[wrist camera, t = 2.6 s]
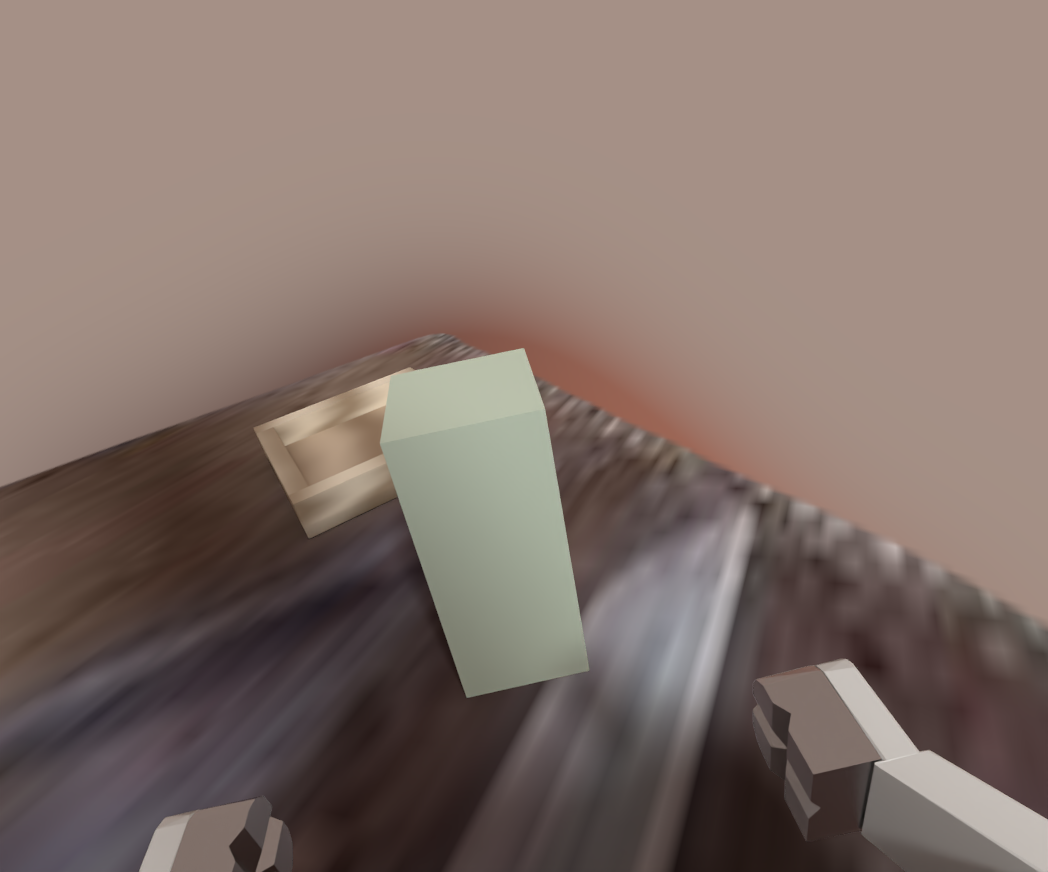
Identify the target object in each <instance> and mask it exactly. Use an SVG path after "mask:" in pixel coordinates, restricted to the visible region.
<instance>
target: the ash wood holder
mask: <svg viewBox="0 0 1048 872" xmlns="http://www.w3.org/2000/svg"><path fill="white" fill-rule="evenodd" d="M411 371H415V370H414V369H412V368H411V367H410V368H407V369H404V370H402V371H399V372H397V373H394V374H392V375H397V374H402V373H406V372H411ZM392 375H389V376H386V377H384V378H381V379H379V380H376V381H373V382H371V383H368V384H366V385H363V386H360V387H358V388H355V389H353V390H350V391H347V392H345V393H342V394H340V395H337V396H334V397H332V398H329V399H327V400H324V401H321V402H319V403H316V404H314V405H311V406H309V407H306V408H303V409H301V410H298V411H296V412H293V413H290V414H288V415H285V416H283V417H280V418H277V419H275V420H272V421H270V422H267V423H264V424H262V425H259V426H257V427H254V431H255V433H256V435H257V437H258V439H259V441H260V444H261V446H262V448H263V450H264V452H265V455H266V457H267V459H268V461H269V463H270V464H271V466H272V468H273V470H274V472H275V474H276V476H277V478H278V480H279V482H280V484H281V486H282V488H283V490H284V492H285V494H286V496H287V497H288V499H289V501H290V503H291V505H292V507H293V509H294V511H295V513H296V515H297V517H298V519H299V521H300V523H301V525H302V527H303V529H304V530H305V532H306V534H307V536H308V538H309V539H310V538H312V537H314V536H316V535H318V534H320V533H322V532H324V531H327V530H329V529H331V528H333V527H335V526H337V525H339V524H341V523H343V522H346V521H348V520H350V519H352V518H354V517H356V516H358V515H360V514H362V513H365V512H367V511H369V510H371V509H373V508H375V507H377V506H379V505H381V504H384V503H386V502H388V501H390V500H392V499H394V498H396V497H398V495H397V492H396V490H395V487H394V484H393V481H392V478H391V475H390V472H389V469H388V466H387V463H386V460H385V457H384V454H383V451H382V449H381V446H380V439H381V433H382V427H383V421H384V415H385V409H386V402H387V396H388V390H389V384H390V378H391V376H392Z"/></svg>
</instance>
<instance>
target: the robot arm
mask: <svg viewBox="0 0 1048 872" xmlns="http://www.w3.org/2000/svg"><path fill="white" fill-rule="evenodd" d="M753 695H754V697H755V699H756V701H757V703H758V705H757V706H756V707H755V708H754V710H753V726H754V730H755V734H756V738H757V741H758V744H759V746H760V749H761V751H762V754H763V756H764V758H765V760H766V762H767V764H768V766H769V769H770V770H771V771H772V772H774V773H775V774H776V775H778V776H779V777H781V778H782V779H784V780H785V794H784V799H785V801H786V803H787V804H788V806H789V808H790V810H791V812H792V814H793V816H794V818H795V820H796V822H797V824H798V826H799V828H800V830H801V832H802V834H803V836H804V838H805V840H806V842H810V841H815V840H820V839H824V838H829V837H834V836H839V835H844V834H848V833H853V832H858V831H862V832H861V834H862V835H863V836H864V837H865V838H866V839H868V840H869V841H870V842H871V843H872V844H874V845H875V846H876V847H877V848H878V849H880V850H881V851H882V852H883V853H884V854H886V855H887V856H888V857H889V858H890V859H891V860H893V861H894V862H895V863H896V864H897V865H899V866H900V867H901V868H902V869H903V870H905V871H906V872H1048V820H1047V819H1046V818H1044V817H1042V816H1041V815H1039V814H1037V813H1035V812H1034V811H1032V810H1030V809H1029V808H1027V807H1025V806H1024V805H1022V804H1020V803H1018V802H1017V801H1015V800H1013V799H1012V798H1010V797H1008V796H1007V795H1005V794H1003V793H1001V792H1000V791H998V790H996V789H995V788H993V787H991V786H990V785H988V784H986V783H984V782H983V781H981V780H979V779H978V778H976V777H974V776H973V775H971V774H969V773H967V772H966V771H964V770H962V769H961V768H959V767H957V766H956V765H954V764H952V763H950V762H949V761H947V760H945V759H944V758H942V757H940V756H939V755H937V754H935V753H933V752H932V751H930V750H925V751H918V749H917V748H916V747H915V745H914V744H913V743H912V741H911V740H910V739H909V737H908V736H907V735H906V733H905V732H904V731H903V729H902V728H901V727H900V725H899V724H898V723H897V721H896V720H895V719H894V717H893V716H892V715H891V713H890V712H889V711H888V709H887V708H886V707H885V705H884V704H883V703H882V702H881V700H880V699H879V698H878V696H877V695H876V694H875V692H874V691H873V690H872V688H871V687H870V686H869V684H868V683H867V682H866V680H865V679H864V678H863V676H862V675H861V674H860V672H859V671H858V670H857V668H856V667H855V666H854V664H853V663H851V662H850V661H848V660H847V659H838V660H834V661H830V662H826V663H822V664H818V665H814V666H813V665H810V666H806V667H802V668H798V669H794V670H791V671H787V672H783V673H779V674H775V675H771V676H767V677H763V678H759V679H756V680H755V681H754V683H753ZM271 810H272V805H271V804H270V803H269V802H268V801H267V799H266V798H265V797H264V796H259V797H255V798H250V799H246V800H242V801H237V802H233V803H228V804H224V805H220V806H215V807H211V808H207V809H202V810H195V811H191V812H187V813H183V814H179V815H175V816H170V817H166V818H164V820H163V821H162V822H161V824H160V825H159V826H158V828H157V829H156V830H155V832H154V834H153V837H152V840H151V842H150V845H149V847H148V850H147V852H146V855H145V857H144V860H143V862H142V865H141V867H140V870H139V872H292V866H293V842H292V839H291V836H290V832H289V829H288V828H287V826H286V825H285V823H284V822H283V821H281V820H278V819H275V818H273V817H270V814H271Z"/></svg>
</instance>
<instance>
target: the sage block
mask: <svg viewBox="0 0 1048 872" xmlns="http://www.w3.org/2000/svg"><path fill="white" fill-rule="evenodd" d="M380 446H381V449H382V451H383V454H384V457H385V460H386V463H387V466H388V469H389V472H390V475H391V478H392V481H393V484H394V487H395V490H396V492H397V495H398V498H399V501H400V504H401V507H402V510H403V513H404V516H405V519H406V522H407V525H408V528H409V531H410V533H411V536H412V539H413V542H414V545H415V548H416V551H417V554H418V557H419V560H420V563H421V566H422V569H423V572H424V574H425V577H426V580H427V583H428V586H429V589H430V592H431V595H432V598H433V601H434V604H435V607H436V610H437V613H438V615H439V618H440V621H441V624H442V627H443V630H444V633H445V636H446V639H447V642H448V645H449V648H450V651H451V654H452V656H453V659H454V662H455V665H456V668H457V671H458V674H459V677H460V680H461V683H462V686H463V689H464V692H465V695H466V698H469V697H473V696H478V695H482V694H487V693H491V692H496V691H500V690H505V689H509V688H514V687H518V686H523V685H527V684H532V683H536V682H541V681H545V680H550V679H554V678H559V677H563V676H568V675H572V674H577V673H581V672H586V671H590V670H589V664H588V659H587V653H586V647H585V641H584V635H583V629H582V623H581V618H580V612H579V606H578V600H577V594H576V588H575V582H574V576H573V571H572V565H571V559H570V553H569V547H568V541H567V535H566V529H565V524H564V518H563V512H562V506H561V500H560V494H559V488H558V483H557V477H556V471H555V465H554V459H553V453H552V447H551V441H550V436H549V430H548V424H547V418H546V412H545V408H544V405H543V402H542V399H541V396H540V393H539V390H538V387H537V385H536V382H535V379H534V376H533V373H532V370H531V367H530V365H529V362H528V359H527V356H526V353H525V350H524V348H522V349H517V350H512V351H507V352H503V353H498V354H493V355H488V356H483V357H479V358H474V359H469V360H464V361H459V362H454V363H450V364H445V365H440V366H435V367H430V368H426V369H421V370H416V371H411V372H406V373H402V374H397V375H392V376H391V378H390V384H389V390H388V396H387V402H386V409H385V415H384V421H383V427H382V433H381V439H380Z"/></svg>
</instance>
